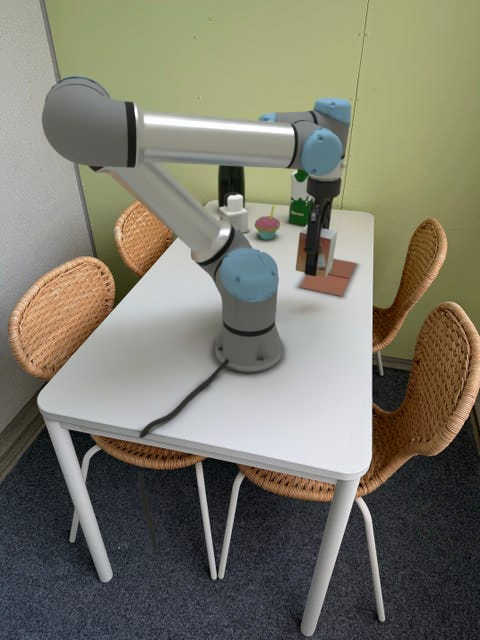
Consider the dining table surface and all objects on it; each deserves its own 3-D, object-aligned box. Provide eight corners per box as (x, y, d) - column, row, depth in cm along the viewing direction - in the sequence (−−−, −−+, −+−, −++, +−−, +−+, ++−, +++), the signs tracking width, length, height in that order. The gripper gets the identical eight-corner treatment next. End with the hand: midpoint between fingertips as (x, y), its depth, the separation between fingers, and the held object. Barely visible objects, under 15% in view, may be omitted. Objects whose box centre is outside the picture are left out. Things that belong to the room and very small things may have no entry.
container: (219, 227, 158) (218, 192, 151) (238, 224, 161) (238, 189, 154) (228, 235, 153) (227, 199, 145) (248, 231, 155) (248, 196, 148)
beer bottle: (223, 204, 177) (221, 116, 158) (248, 207, 174) (249, 118, 155) (214, 214, 169) (211, 122, 150) (240, 217, 166) (240, 124, 147)
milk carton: (285, 222, 162) (288, 168, 150) (296, 215, 168) (300, 161, 157) (306, 228, 158) (312, 172, 147) (317, 219, 164) (323, 165, 153)
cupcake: (279, 232, 155) (281, 199, 148) (278, 242, 148) (280, 208, 141) (255, 231, 156) (255, 198, 149) (253, 241, 149) (254, 207, 142)
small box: (294, 271, 110) (298, 232, 104) (302, 262, 114) (306, 223, 108) (325, 278, 107) (331, 238, 101) (332, 268, 111) (338, 230, 105)
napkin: (341, 296, 121) (342, 294, 120) (299, 287, 124) (299, 285, 124) (356, 264, 136) (356, 263, 135) (318, 257, 139) (318, 256, 139)
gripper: (331, 191, 89) (318, 289, 102) (350, 167, 103) (337, 256, 116) (295, 186, 91) (287, 283, 105) (319, 163, 105) (310, 251, 119)
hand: (313, 268), depth 110 cm, fingers closed on small box, 6 cm apart
